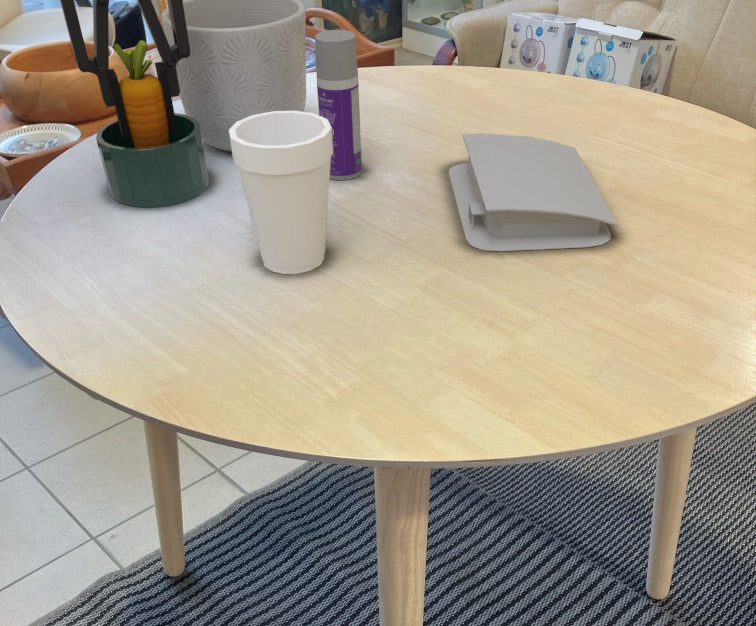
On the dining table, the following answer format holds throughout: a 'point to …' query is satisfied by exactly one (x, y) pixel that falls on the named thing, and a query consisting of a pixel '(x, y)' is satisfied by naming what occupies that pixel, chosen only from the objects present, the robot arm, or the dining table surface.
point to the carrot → (143, 99)
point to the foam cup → (286, 185)
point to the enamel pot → (154, 165)
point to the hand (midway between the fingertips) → (148, 130)
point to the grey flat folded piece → (527, 195)
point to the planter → (240, 62)
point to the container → (340, 99)
